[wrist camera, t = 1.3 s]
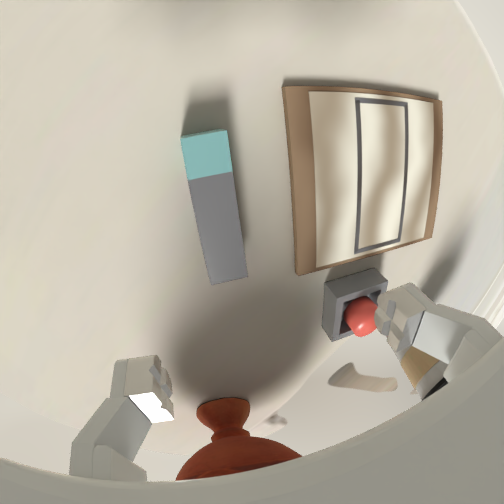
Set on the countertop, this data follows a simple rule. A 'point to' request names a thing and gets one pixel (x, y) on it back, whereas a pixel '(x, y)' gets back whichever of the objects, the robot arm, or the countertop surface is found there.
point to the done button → (361, 316)
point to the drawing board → (360, 171)
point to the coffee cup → (422, 370)
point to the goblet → (231, 443)
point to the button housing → (348, 299)
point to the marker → (215, 203)
